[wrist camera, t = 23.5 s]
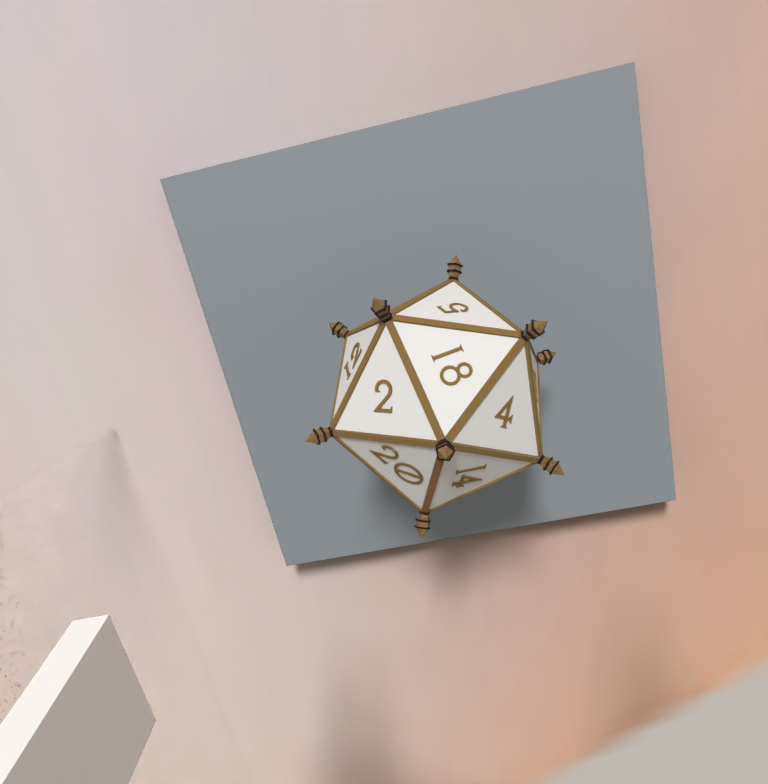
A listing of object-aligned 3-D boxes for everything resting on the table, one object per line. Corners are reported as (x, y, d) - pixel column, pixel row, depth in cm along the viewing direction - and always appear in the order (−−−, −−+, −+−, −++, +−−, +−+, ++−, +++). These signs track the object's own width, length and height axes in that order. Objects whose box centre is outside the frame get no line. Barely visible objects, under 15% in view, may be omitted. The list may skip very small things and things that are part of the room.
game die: (573, 394, 29) (649, 521, 20) (395, 477, 31) (388, 630, 22) (479, 202, 26) (516, 243, 17) (291, 305, 28) (231, 393, 19)
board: (292, 548, 34) (286, 565, 33) (172, 176, 28) (160, 179, 27) (664, 483, 32) (676, 499, 31) (622, 65, 26) (634, 62, 25)
